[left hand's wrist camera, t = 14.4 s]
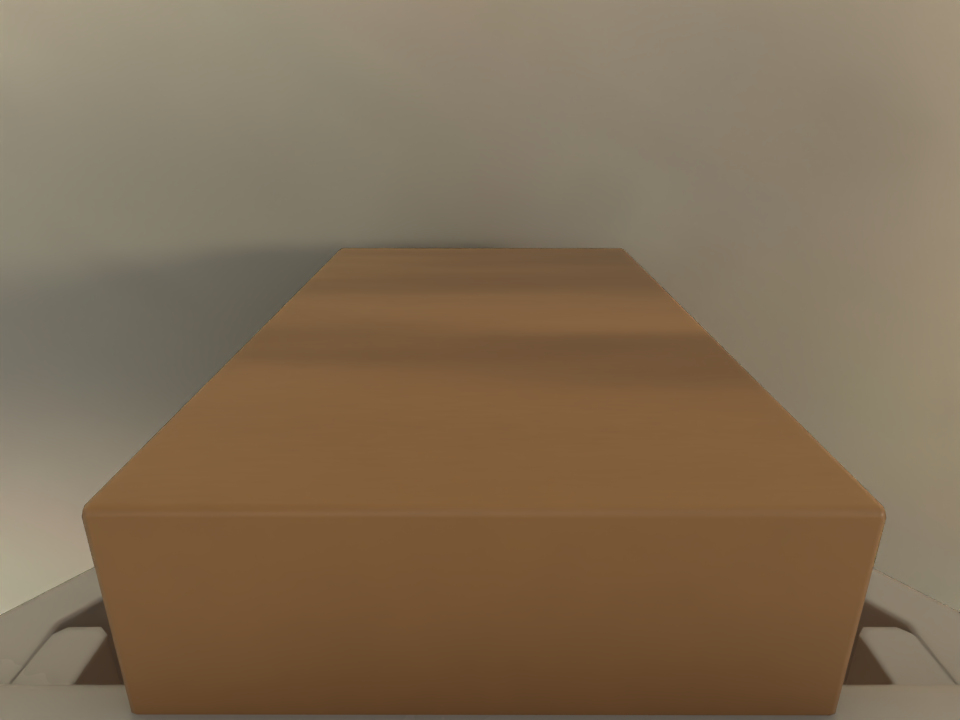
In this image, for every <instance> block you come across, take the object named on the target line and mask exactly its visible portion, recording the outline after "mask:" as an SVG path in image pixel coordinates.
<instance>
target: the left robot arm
mask: <svg viewBox="0 0 960 720" xmlns="http://www.w3.org/2000/svg"><path fill="white" fill-rule="evenodd" d="M0 720H960V612H958V611H956V610H954V609H952V608H950V607H948V606H946V605H944V604H942V603H940V602H938V601H936V600H934V599H932V598H930V597H928V596H926V595H924V594H923V593H921V592H919V591H917V590H915V589H913V588H911V587H909V586H907V585H905V584H903V583H901V582H899V581H897V580H895V579H893V578H891V577H889V576H887V575H885V574H883V573H881V572H879V571H877V570H876V569H874V568H873V570H872V574H871V578H870V582H869V585H868V589H867V593H866V597H865V601H864V605H863V609H862V612H861V616H860V620H859V624H858V628H857V632H856V635H855V639H854V643H853V647H852V651H851V655H850V658H849V662H848V666H847V670H846V674H845V678H844V682H843V685H842V689H841V693H840V697H839V701H838V705H837V708H836V712H835V714H832V715H144V714H134V713H132V712H131V708H130V704H129V700H128V696H127V693H126V689H125V685H124V681H123V677H122V673H121V669H120V665H119V661H118V657H117V653H116V649H115V645H114V641H113V637H112V633H111V629H110V626H109V622H108V618H107V614H106V610H105V606H104V602H103V598H102V594H101V590H100V586H99V582H98V578H97V574H96V570H95V567H93V568H91V569H89V570H87V571H85V572H84V573H82V574H80V575H78V576H76V577H74V578H72V579H70V580H68V581H66V582H64V583H62V584H60V585H58V586H56V587H54V588H52V589H50V590H48V591H46V592H44V593H43V594H41V595H39V596H37V597H35V598H33V599H31V600H29V601H27V602H25V603H23V604H21V605H19V606H17V607H15V608H13V609H11V610H9V611H7V612H5V613H3V614H2V615H0Z"/></svg>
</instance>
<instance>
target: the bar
mask: <svg viewBox="0 0 960 720" xmlns="http://www.w3.org/2000/svg"><path fill="white" fill-rule="evenodd" d="M82 519H83V523H84V527H85V531H86V535H87V539H88V543H89V547H90V551H91V555H92V559H93V562H94V566H95V570H96V574H97V578H98V582H99V586H100V590H101V594H102V598H103V602H104V606H105V610H106V614H107V618H108V622H109V626H110V629H111V633H112V637H113V641H114V645H115V649H116V653H117V657H118V661H119V665H120V669H121V673H122V677H123V681H124V685H125V689H126V693H127V696H128V700H129V704H130V708H131V712H132V713H134V714H144V715H832V714H835V712H836V708H837V705H838V701H839V697H840V693H841V689H842V685H843V682H844V678H845V674H846V670H847V666H848V662H849V658H850V655H851V651H852V647H853V643H854V639H855V635H856V632H857V628H858V624H859V620H860V616H861V612H862V609H863V605H864V601H865V597H866V593H867V589H868V585H869V582H870V578H871V574H872V570H873V566H874V562H875V559H876V555H877V551H878V547H879V543H880V539H881V535H882V532H883V528H884V524H885V520H886V514H885V510H884V507H883V506H882V505H881V504H880V503H879V502H878V501H877V500H876V499H875V498H874V497H873V496H872V495H871V494H870V493H869V492H868V491H867V490H866V489H865V488H864V487H863V486H862V485H861V484H860V483H859V482H858V481H857V480H856V479H855V478H854V477H853V476H852V475H851V474H850V473H849V472H848V471H847V470H846V469H845V468H844V467H843V466H842V465H841V464H840V463H839V462H838V461H837V460H836V459H835V458H834V457H833V456H832V455H831V454H830V453H829V452H828V451H827V450H826V449H825V448H824V447H823V446H822V445H821V444H820V443H819V442H818V441H817V440H816V439H815V438H814V437H813V436H812V435H811V434H810V433H809V432H808V431H807V430H805V429H804V428H803V427H802V426H801V425H800V424H799V423H798V422H797V421H796V420H795V419H794V418H793V417H792V416H791V415H790V414H789V413H788V412H787V411H786V410H785V409H784V408H783V407H782V406H781V405H780V404H779V403H778V402H777V401H776V400H775V399H774V398H773V397H772V396H771V395H770V394H769V393H768V392H767V391H766V390H765V389H764V388H763V387H762V386H761V385H760V384H759V383H758V382H757V381H756V380H755V379H754V378H753V377H752V376H751V375H750V374H749V373H748V372H747V371H746V370H745V369H744V368H743V367H742V366H741V365H740V364H739V363H738V362H737V361H736V360H735V359H734V358H733V357H732V356H731V355H730V354H729V353H728V352H727V351H726V350H725V349H724V348H723V347H722V346H721V345H720V344H719V343H718V342H717V341H716V340H715V339H714V338H713V337H712V336H711V335H710V334H709V333H708V332H707V331H706V330H705V329H704V328H703V327H702V326H701V325H700V324H699V323H698V322H697V321H696V320H695V319H694V318H693V317H692V316H691V315H689V314H688V313H687V312H686V311H685V310H684V309H683V308H682V307H681V306H680V305H679V304H678V303H677V302H676V301H675V300H674V299H673V298H672V297H671V296H670V295H669V294H668V293H667V292H666V291H665V290H664V289H663V288H662V287H661V286H660V285H659V284H658V283H657V282H656V281H655V280H654V279H653V278H652V277H651V276H650V275H649V274H648V273H647V272H646V271H645V270H644V269H643V268H642V267H641V266H640V265H639V264H638V263H637V262H636V261H635V260H634V259H633V258H632V257H631V256H630V255H629V254H628V253H627V252H626V251H625V250H624V249H622V248H342V249H340V250H339V251H338V252H337V253H336V254H335V255H334V256H333V257H332V258H331V259H330V260H329V261H328V262H327V263H326V264H325V265H324V266H323V267H322V268H321V269H320V270H319V271H318V272H317V273H316V274H315V275H314V276H313V277H312V278H311V279H310V280H309V281H308V282H307V283H306V284H305V285H304V286H303V287H302V288H301V289H300V290H299V291H298V292H297V293H296V294H295V295H294V296H293V297H292V298H291V299H290V300H289V301H288V302H287V303H286V304H285V305H284V306H283V307H282V308H281V309H280V310H279V311H278V312H277V313H276V314H275V315H274V316H273V317H272V318H271V319H270V320H269V321H268V322H267V323H266V324H265V325H264V326H263V327H262V328H261V329H260V330H259V331H258V332H257V333H256V334H255V335H254V336H253V337H252V338H251V339H250V340H249V341H248V342H247V343H246V344H245V345H244V346H243V347H242V348H241V349H240V350H239V351H238V352H237V353H236V354H235V355H234V356H233V357H232V358H231V359H230V360H229V361H228V362H227V363H226V364H225V365H224V366H223V367H222V368H221V369H220V370H219V371H218V372H217V373H216V374H215V375H214V376H213V377H212V378H211V379H210V380H209V381H208V382H207V383H206V384H205V385H204V386H203V387H202V388H201V389H200V390H199V391H198V392H197V393H196V394H195V395H194V396H193V397H192V398H191V399H190V400H189V401H188V402H187V403H186V404H185V405H184V406H183V407H182V408H181V409H180V410H179V411H178V412H177V413H176V414H175V415H174V416H173V417H172V418H171V419H170V420H169V421H168V422H167V423H166V424H165V425H164V426H163V427H162V428H161V429H160V430H159V431H158V432H157V433H156V434H155V435H154V436H153V437H152V438H151V439H150V440H149V441H148V442H147V444H146V445H145V446H144V447H143V448H142V449H141V450H140V451H139V452H138V453H137V454H136V455H135V456H134V457H133V458H132V459H131V460H130V461H129V462H128V463H127V464H126V465H125V466H124V467H123V468H122V469H121V470H120V471H119V472H118V473H117V474H116V475H115V476H114V477H113V478H112V479H111V480H110V481H109V482H108V483H107V484H106V485H105V486H104V487H103V488H102V489H101V490H100V491H99V492H98V493H97V494H96V495H95V496H94V497H93V498H92V499H91V500H90V501H89V502H88V503H87V504H86V505H85V506H84V508H83V512H82Z"/></svg>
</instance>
